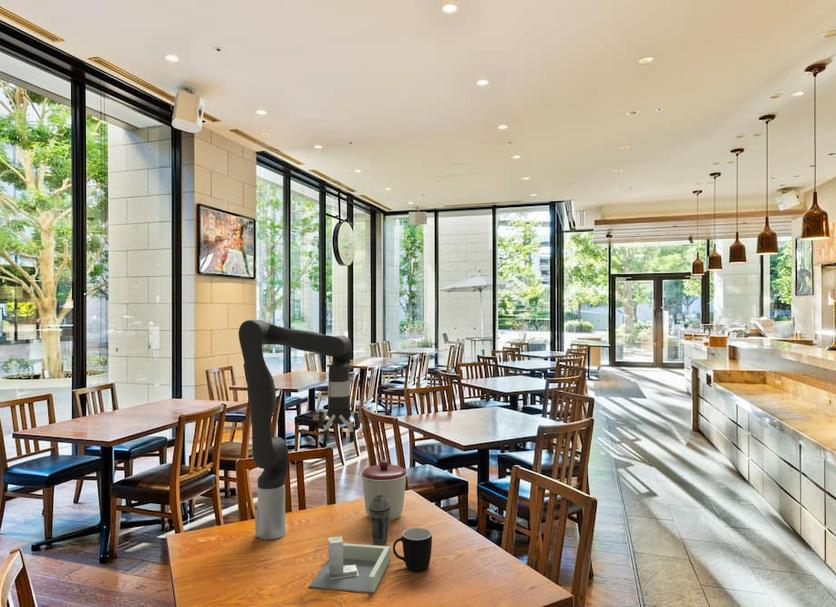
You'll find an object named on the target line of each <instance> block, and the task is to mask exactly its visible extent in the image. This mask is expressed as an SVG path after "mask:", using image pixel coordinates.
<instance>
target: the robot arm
mask: <svg viewBox="0 0 836 607" xmlns="http://www.w3.org/2000/svg"><path fill="white" fill-rule="evenodd" d="M238 340H239V345H240V349H241V353H242V358H243V363H244V372H245V378H246V388H247V390H246V391H247V396H248V405H249V411H250V423H251V443H252V444H251V450H252V451H251V452H252V457H253V458H252V459H253V462H254V463H255V465H256V466H257V467H258V468H260V469H262V470H263V471H262V472H261V474H260V475H259V476H258V478H257V508H255V509H254V510H255V512H254V513H255V514H254V516H255V518H254V520H255V524H254V525H255V526H254V527H255V528H254V530H255V532H254V534H255V535H254V536H255V538H258V537H259V538H258V539H260V540H263V541H264V540H265V541H270V540H276V539H280V538H282V537H284V536H285V534H286V478H287V475H288V464H289V462H288V461H289V450H288V449H289V448H288V444H287V442H286V441H285V440H284V439H283V437H279V436H273V437H272V430H271V424H272V419H273V415H274V412H275V408H276V403H277V394H276V392H277V391H276V386H275V385H276V384H275V381H274V378H273V375H272V373H271V371H270V370H269V369H270V368H268V365H267V364H266V362H265V359H264V352H263V346H264V345H268V346H269V345H279V346H285V347H289V348H291V349H295V350H298V351H302V352H308V353H309V352H310V353H314V354H315V353H317V354H321V355H324V356H327V357H332V359H331V360H332V361H331V364H330V365H329V366H328V385H327V410H323V409H322V410H320V411H319V412H318V425H317V426H318V427H317V428H318V429H319V430H322V431H323V440H324V441H325V442H326V443H328V442H330V437H331V436H330V431H331V430H330V428H331V426H333V425H345V427H347V429H348V430H349V432H348V433H349V436H348V437H349V438H348V439H349V443H350V444H351V443H353V442H354V441H356V440H355V439H356V431H358V430H360V429H361V416H360V415H361V414H360V411H359V410H357V411H352V410H351V385H350V364H351V358H352V352H353V350H352V349H353V347H352V342H351V339H350V338H349V336H345V335H328V334H323V333H320V332H316V331H311V330H304V329H295V328H294V329H293V328H286V327H281V326H278V325H275V324H273V323H269V322H267V321H264V320H261V319H260V320H259V319H256V320H255V319H248V320H245V321H243V322H242V323H241V324H240V326H239V328H238ZM326 417H328V421H327V423H326V424H325V418H326ZM351 417H352V419H354V424H353V421H352V420H351V419H350V418H351Z"/></svg>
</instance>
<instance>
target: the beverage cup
mask: <svg viewBox="0 0 836 607" xmlns="http://www.w3.org/2000/svg"><path fill="white" fill-rule="evenodd" d="M378 494H379V495H377V496H375V497H374V498H373V499H372V500H371V502H370V507H369V510H370V515H371V519H370V522H371V523H370V524H371V534H372V542H373V545H376V546H385V545H386V544H387V543H388V535H389V534H388V531H389V522H390V521H389V513H390V503H389V500H388V499H387V498H386V497H385V496H383V495H380V483H378Z"/></svg>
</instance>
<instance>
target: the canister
mask: <svg viewBox="0 0 836 607" xmlns="http://www.w3.org/2000/svg"><path fill="white" fill-rule="evenodd" d="M359 475H360V478H361V481H362V489H363V490H362V492H363V498H364V505H365V513H366V514H367V517H368V518H369V519H370V520H371V515H370V510H369V507H370V502H371V500H372V499H373V498H374V497H375V496H377V495H379V494H378V483H380V495H383V496H385V497H386V498H387V499H388V500H389V503H390V513H389V521H388V522H392V521H395V520H397V519H398V518H400V517H401V515H402V513H403V510H404V502H405V490H406V482H407V476H408V475H409V471H408V470H407V469H406V468H404V467H401V466H399V465H395V464H389V462H388V460H386V459H385V460H383V459H382V460H380V462H379V464H377V465H376V464H375V465H371V466H368V467H366V468H365V469H364V470H362V471H360V473H359Z"/></svg>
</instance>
